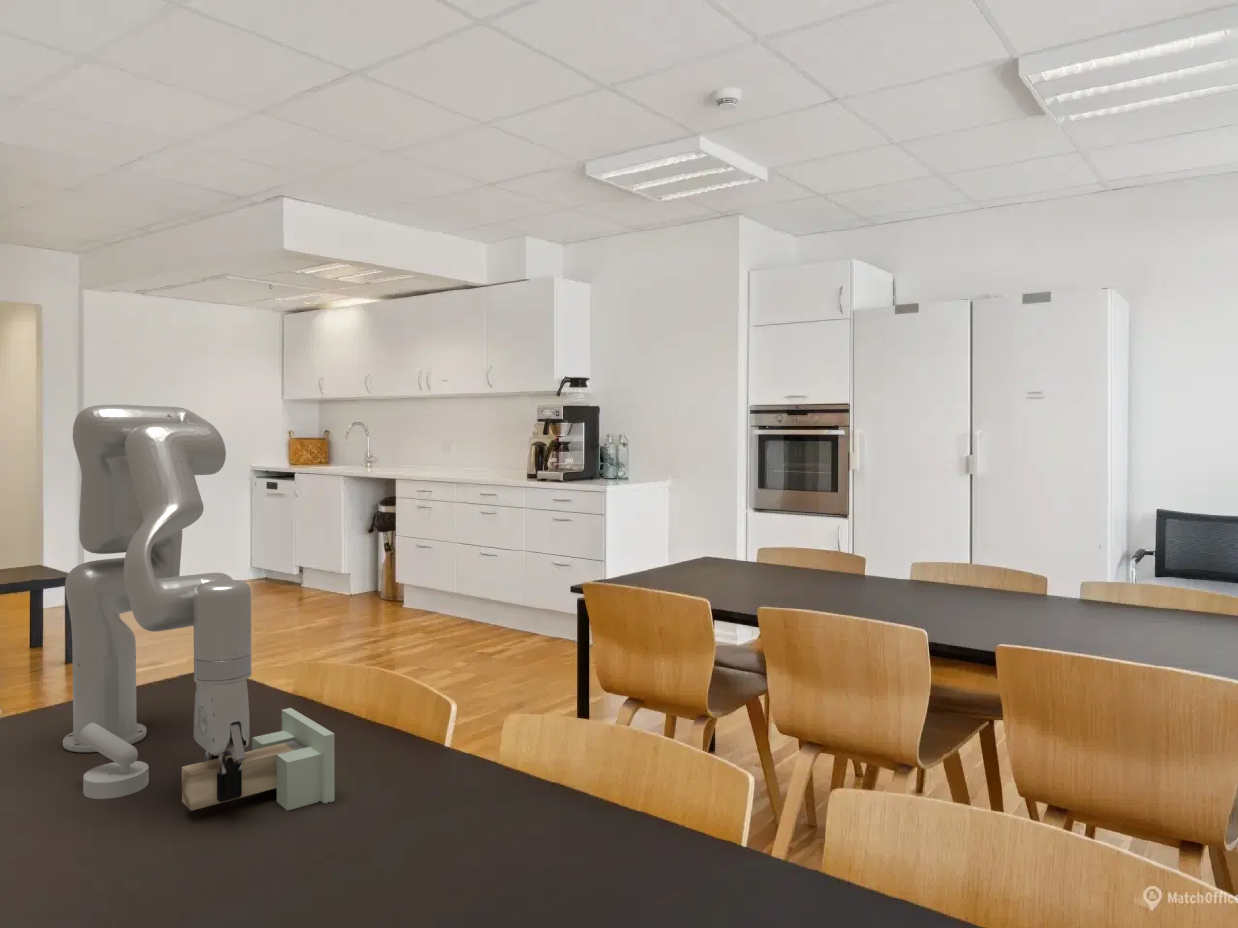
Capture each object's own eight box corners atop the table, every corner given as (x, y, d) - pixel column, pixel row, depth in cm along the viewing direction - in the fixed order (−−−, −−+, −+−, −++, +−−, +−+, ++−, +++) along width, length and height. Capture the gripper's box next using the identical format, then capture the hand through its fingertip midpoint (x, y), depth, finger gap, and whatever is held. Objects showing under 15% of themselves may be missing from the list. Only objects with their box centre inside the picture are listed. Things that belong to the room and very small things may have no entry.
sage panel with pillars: (249, 779, 136) (249, 716, 136) (291, 769, 141) (290, 707, 140) (290, 813, 124) (290, 743, 124) (334, 800, 129) (334, 733, 128)
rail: (182, 801, 124) (181, 766, 124) (293, 772, 135) (293, 740, 135) (190, 810, 121) (190, 774, 121) (304, 780, 132) (304, 747, 132)
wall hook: (105, 713, 138) (160, 718, 136) (106, 773, 138) (161, 779, 136) (60, 731, 130) (118, 737, 128) (61, 795, 130) (119, 801, 128)
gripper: (176, 660, 129) (177, 783, 130) (215, 685, 117) (215, 820, 117) (229, 652, 134) (230, 770, 135) (271, 675, 122) (272, 804, 122)
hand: (223, 792), depth 126 cm, fingers closed on rail, 4 cm apart
